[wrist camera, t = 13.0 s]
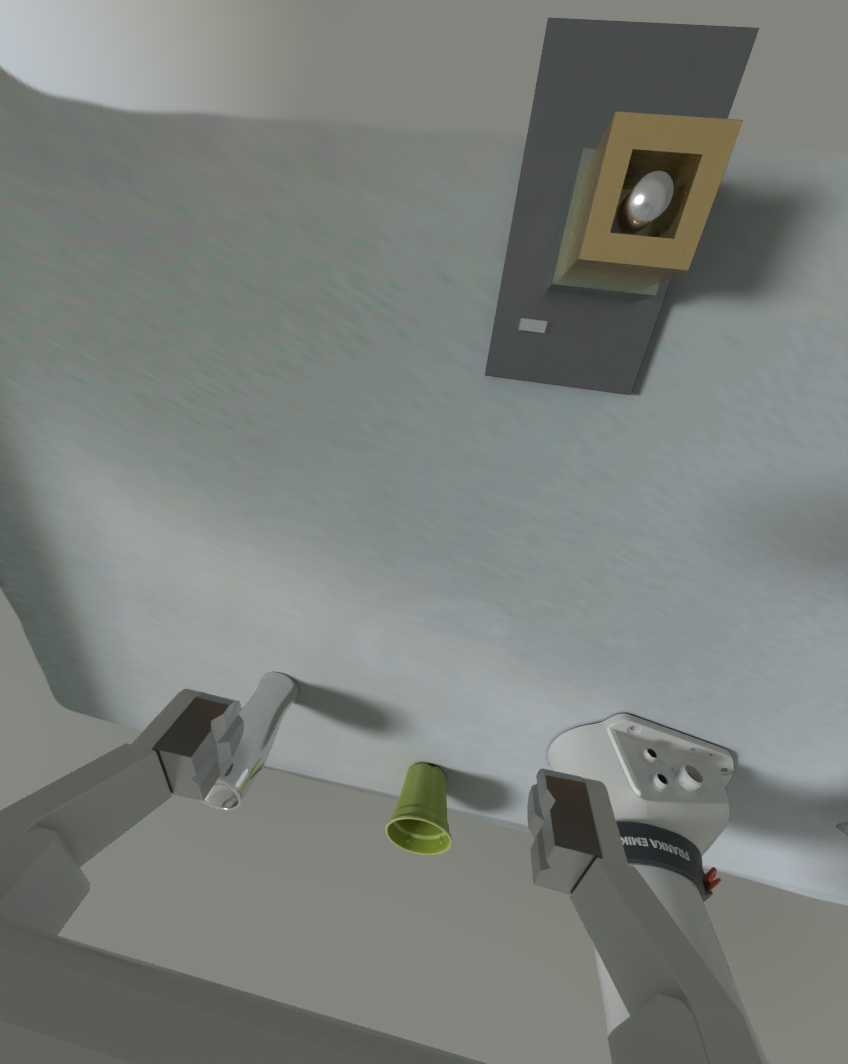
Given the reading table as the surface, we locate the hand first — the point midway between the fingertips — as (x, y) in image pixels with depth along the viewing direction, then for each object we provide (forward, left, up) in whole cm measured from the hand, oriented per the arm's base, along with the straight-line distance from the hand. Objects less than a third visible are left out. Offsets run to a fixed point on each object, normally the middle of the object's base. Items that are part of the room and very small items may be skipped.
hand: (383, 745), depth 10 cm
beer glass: (+21, +38, -29) cm, 52 cm away
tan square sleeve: (-8, -18, -26) cm, 32 cm away
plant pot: (-3, +51, -29) cm, 59 cm away
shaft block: (-8, -18, -29) cm, 35 cm away
